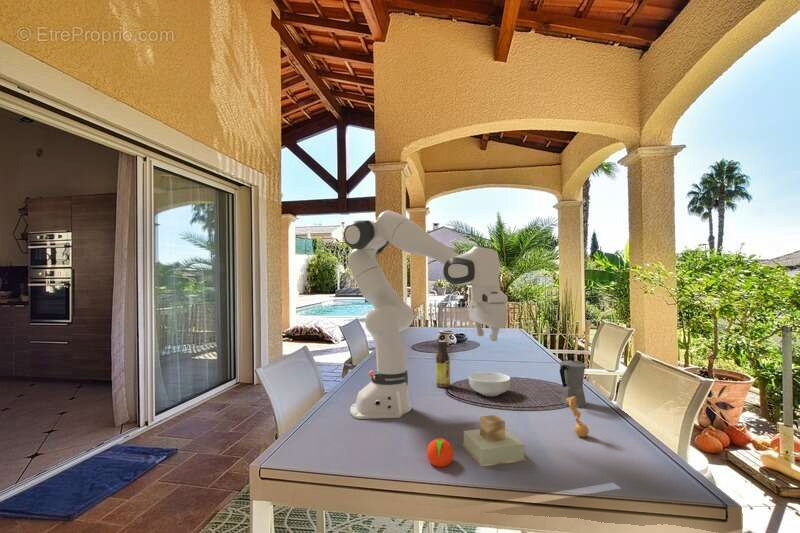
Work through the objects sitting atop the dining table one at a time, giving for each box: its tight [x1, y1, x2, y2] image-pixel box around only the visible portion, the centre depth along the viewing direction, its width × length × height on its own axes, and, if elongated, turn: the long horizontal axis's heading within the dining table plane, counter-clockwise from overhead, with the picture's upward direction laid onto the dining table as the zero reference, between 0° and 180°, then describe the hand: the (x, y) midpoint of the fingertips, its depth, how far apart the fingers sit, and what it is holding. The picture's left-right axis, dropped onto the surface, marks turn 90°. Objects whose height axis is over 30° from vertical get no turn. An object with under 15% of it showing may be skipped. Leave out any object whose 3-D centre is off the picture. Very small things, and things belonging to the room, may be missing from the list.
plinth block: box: [463, 428, 525, 465], centre depth 106 cm, size 12×12×4 cm
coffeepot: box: [559, 355, 587, 408], centre depth 147 cm, size 15×9×18 cm, turn 129°
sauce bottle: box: [435, 340, 451, 389], centre depth 172 cm, size 7×6×20 cm
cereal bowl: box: [468, 371, 511, 397], centre depth 161 cm, size 17×17×7 cm
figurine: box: [567, 396, 590, 438], centre depth 119 cm, size 8×6×12 cm
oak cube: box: [479, 414, 506, 442], centre depth 107 cm, size 5×5×5 cm
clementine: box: [426, 437, 454, 468], centre depth 101 cm, size 8×7×7 cm
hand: (486, 338), depth 125 cm, fingers open, 8 cm apart
